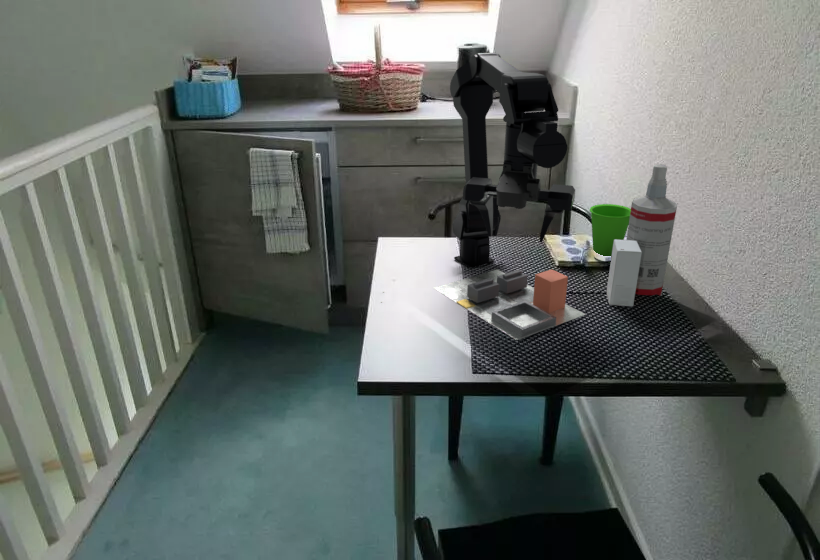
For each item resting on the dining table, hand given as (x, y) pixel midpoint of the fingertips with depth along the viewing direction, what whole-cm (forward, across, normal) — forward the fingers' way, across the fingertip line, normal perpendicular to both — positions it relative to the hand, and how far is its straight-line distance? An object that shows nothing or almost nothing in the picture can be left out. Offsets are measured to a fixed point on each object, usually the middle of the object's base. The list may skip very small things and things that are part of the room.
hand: (515, 238), depth 107 cm
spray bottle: (+13, +23, +11) cm, 28 cm away
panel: (+13, 0, -3) cm, 13 cm away
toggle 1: (+11, -5, -4) cm, 12 cm away
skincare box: (+13, +19, +4) cm, 24 cm away
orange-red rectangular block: (+11, +7, -3) cm, 14 cm away
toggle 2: (+11, 0, +2) cm, 11 cm away
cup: (+13, +16, +28) cm, 34 cm away
